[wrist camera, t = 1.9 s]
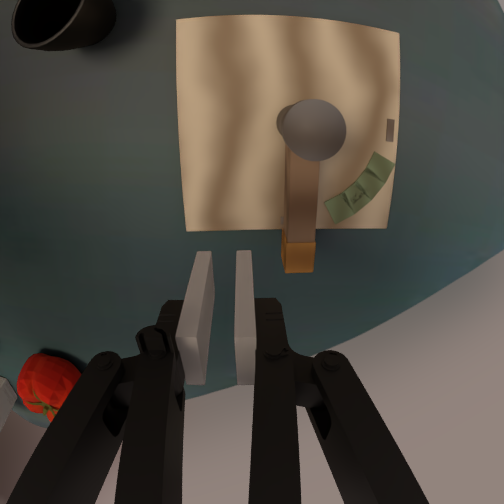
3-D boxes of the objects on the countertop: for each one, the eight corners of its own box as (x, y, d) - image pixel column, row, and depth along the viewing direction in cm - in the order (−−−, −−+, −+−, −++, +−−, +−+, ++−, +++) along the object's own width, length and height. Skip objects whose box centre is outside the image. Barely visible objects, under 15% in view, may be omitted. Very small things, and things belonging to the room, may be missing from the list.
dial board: (188, 227, 33) (186, 232, 32) (178, 22, 23) (176, 19, 22) (382, 224, 33) (387, 229, 32) (393, 35, 23) (399, 33, 22)
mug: (113, -43, 18) (77, -76, 9) (136, 34, 23) (96, 12, 15) (52, -7, 19) (5, -25, 10) (70, 70, 24) (17, 66, 15)
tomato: (110, 382, 45) (94, 431, 36) (75, 398, 49) (60, 439, 39) (51, 331, 40) (23, 377, 31) (24, 354, 43) (1, 394, 34)
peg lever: (271, 99, 26) (283, 97, 18) (318, 101, 26) (347, 101, 18) (270, 247, 33) (279, 293, 25) (311, 247, 33) (330, 291, 25)
